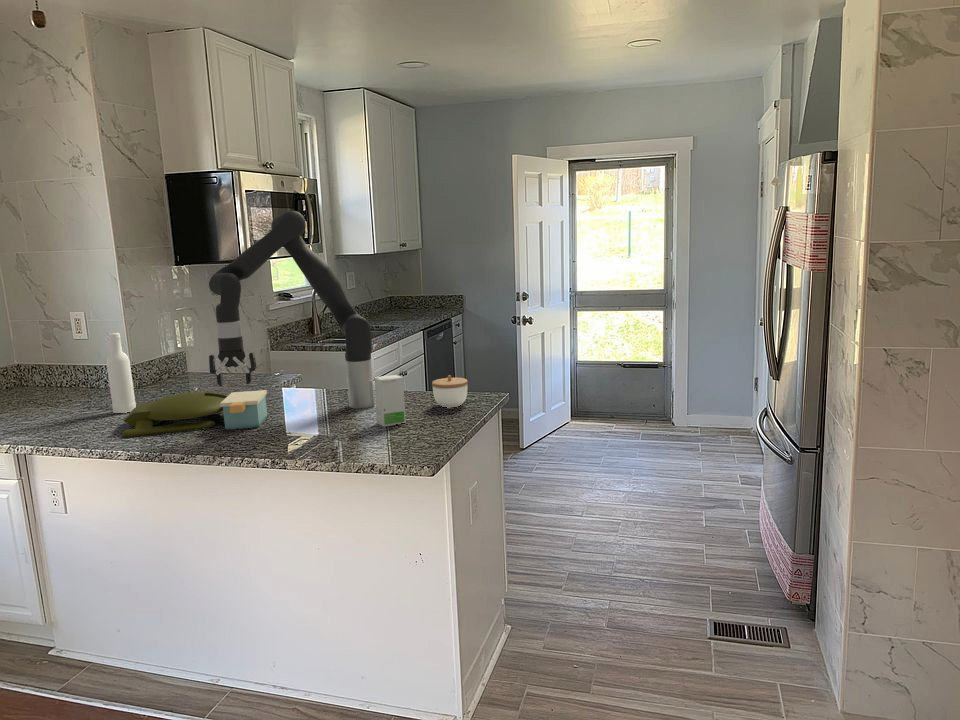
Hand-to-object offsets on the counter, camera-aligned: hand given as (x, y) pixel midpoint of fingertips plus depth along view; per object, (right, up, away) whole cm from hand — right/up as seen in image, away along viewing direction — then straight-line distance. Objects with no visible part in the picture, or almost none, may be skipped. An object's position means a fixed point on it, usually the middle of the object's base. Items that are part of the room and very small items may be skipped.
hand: (234, 384), depth 232 cm
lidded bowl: (+69, -9, +23) cm, 74 cm away
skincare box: (+51, -13, +3) cm, 52 cm away
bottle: (-55, -12, +39) cm, 68 cm away
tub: (0, -13, +13) cm, 19 cm away
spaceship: (-25, -14, +19) cm, 34 cm away
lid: (0, -7, +10) cm, 12 cm away
